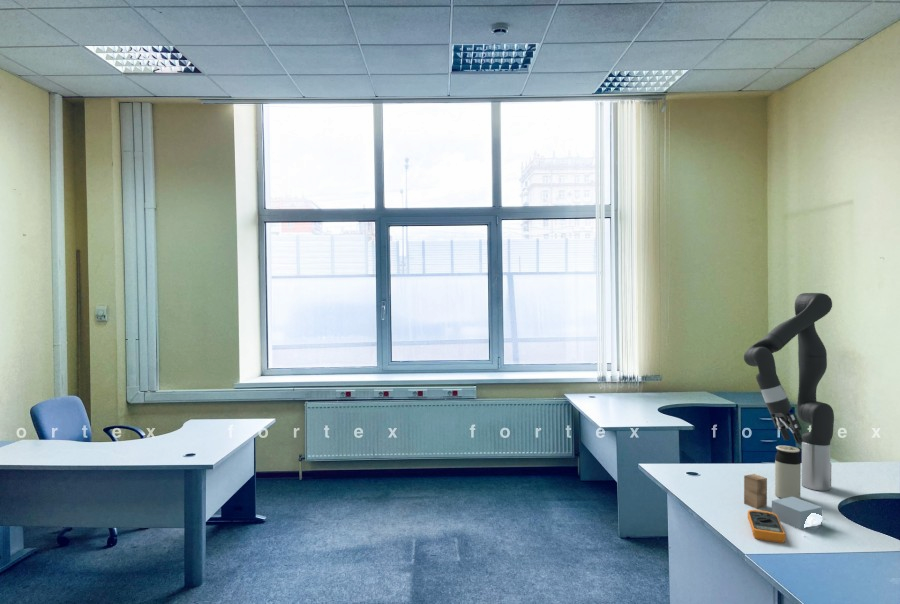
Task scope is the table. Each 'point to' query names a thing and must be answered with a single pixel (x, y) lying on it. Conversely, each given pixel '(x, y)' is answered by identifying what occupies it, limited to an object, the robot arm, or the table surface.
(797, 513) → the slate box
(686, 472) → the table surface
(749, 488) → the walnut block
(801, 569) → the table surface
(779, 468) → the travel mug
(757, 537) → the multimeter
